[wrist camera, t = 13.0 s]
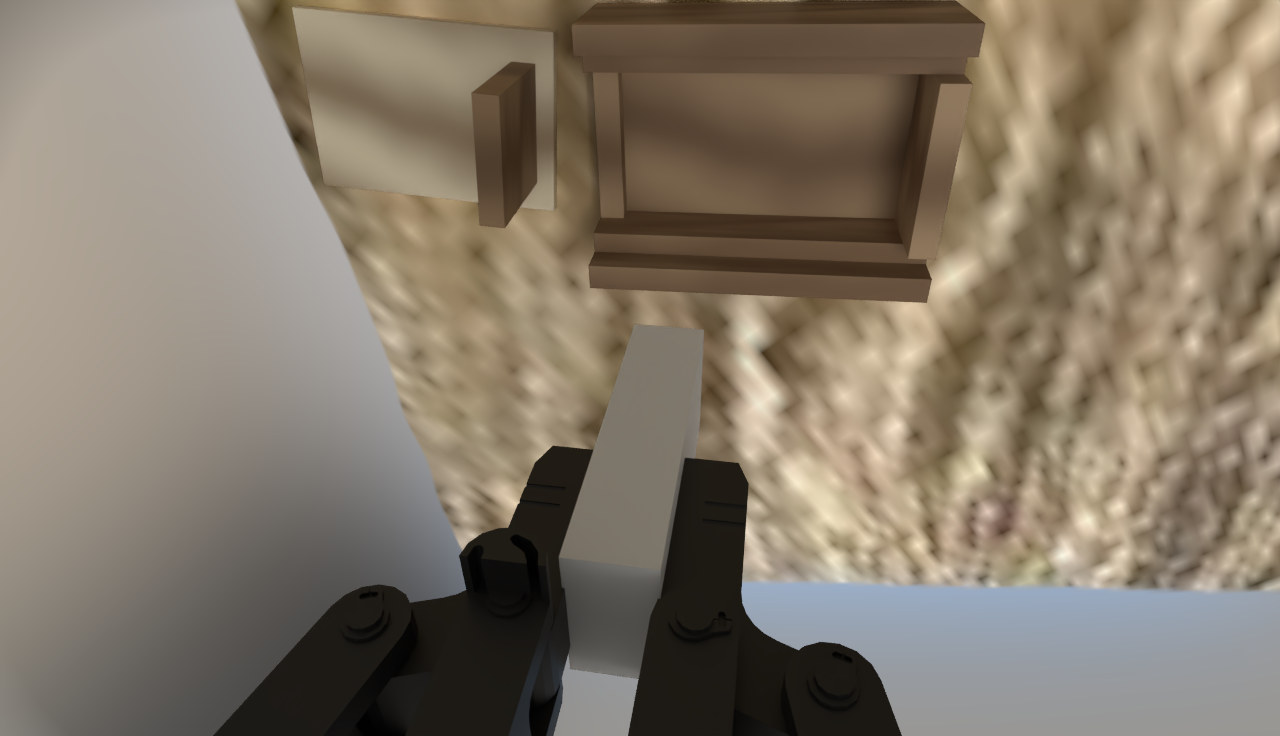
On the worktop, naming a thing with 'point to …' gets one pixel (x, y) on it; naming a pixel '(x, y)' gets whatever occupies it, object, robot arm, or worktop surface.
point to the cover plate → (433, 107)
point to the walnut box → (775, 143)
